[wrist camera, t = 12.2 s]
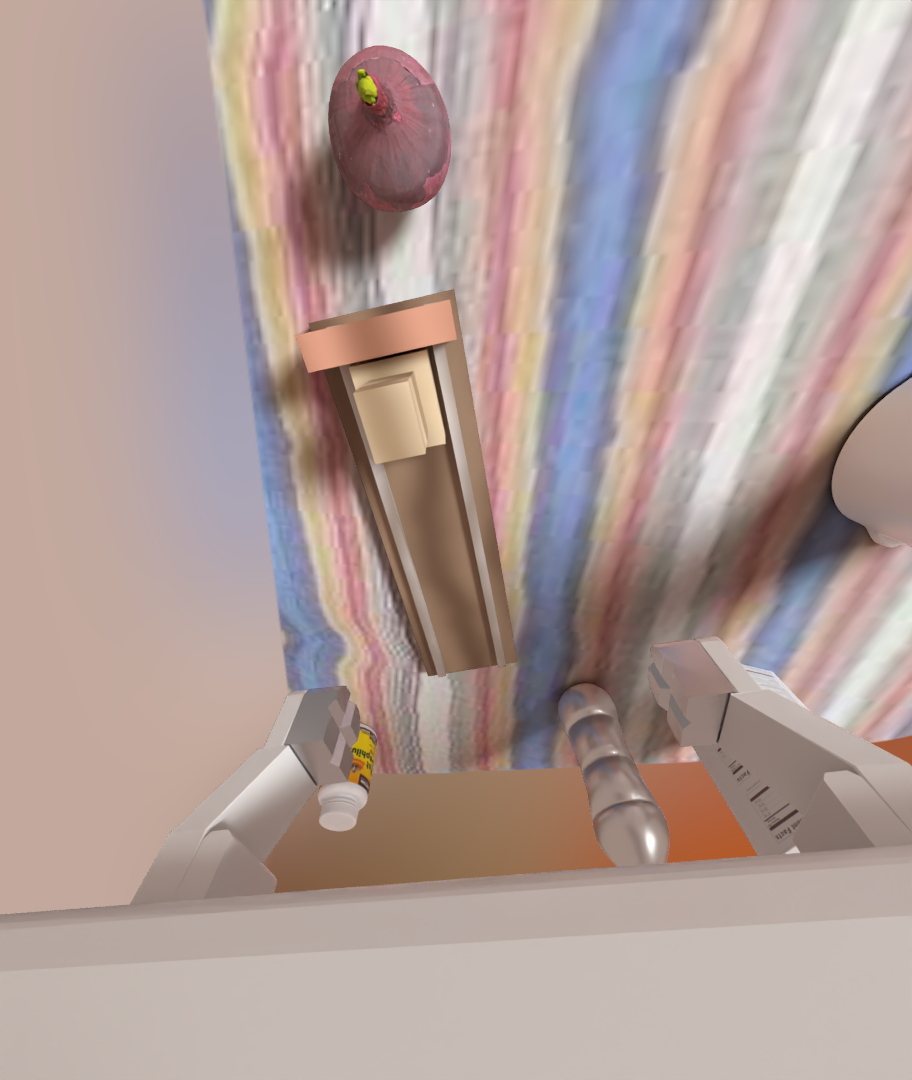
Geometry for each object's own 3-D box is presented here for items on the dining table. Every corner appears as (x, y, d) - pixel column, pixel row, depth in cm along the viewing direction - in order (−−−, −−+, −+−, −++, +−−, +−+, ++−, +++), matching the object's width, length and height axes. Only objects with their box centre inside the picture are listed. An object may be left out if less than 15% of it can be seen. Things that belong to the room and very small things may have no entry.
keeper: (427, 347, 27) (421, 356, 20) (445, 432, 30) (445, 466, 23) (357, 363, 27) (328, 377, 20) (382, 445, 30) (364, 483, 23)
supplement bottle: (386, 734, 50) (374, 822, 41) (358, 752, 52) (340, 840, 43) (354, 714, 48) (334, 803, 39) (325, 733, 50) (299, 822, 41)
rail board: (453, 290, 27) (456, 282, 21) (515, 651, 44) (525, 700, 38) (315, 323, 27) (281, 323, 22) (428, 665, 44) (426, 716, 39)
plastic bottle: (544, 706, 48) (601, 921, 31) (570, 670, 45) (649, 886, 28) (589, 716, 50) (668, 928, 32) (617, 681, 47) (720, 895, 29)
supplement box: (664, 705, 49) (759, 868, 34) (709, 654, 45) (838, 816, 30) (727, 718, 51) (842, 879, 36) (775, 670, 47) (928, 831, 32)
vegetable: (329, 112, 22) (256, -21, 14) (432, 73, 22) (425, -94, 13) (368, 240, 25) (329, 198, 16) (460, 209, 25) (469, 148, 16)
